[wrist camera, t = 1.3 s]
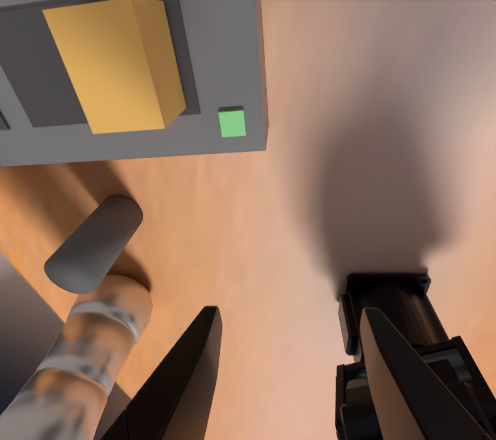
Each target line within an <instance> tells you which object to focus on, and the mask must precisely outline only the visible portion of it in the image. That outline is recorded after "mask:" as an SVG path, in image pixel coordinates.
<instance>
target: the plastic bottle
mask: <svg viewBox="0 0 496 440" xmlns="http://www.w3.org/2000/svg"><path fill="white" fill-rule="evenodd" d="M152 307H153V304H152V300H151V296H150V294H149V292H148V290H147V289H146V288H145V287H144V286H143V285H142V284H140V283H139V282H137V281H136V280H134V279H131V278H129V277H126V276H122V275H106V276H105V277H104V278H103V280H102V281H101V283H100V284H99V286H98V287H97V289H96V290H95V291H94V292H92V293H89V294H79V295H78V297H77V299H76V301H75V303H74V305H73V306H72V308H71V311H70V313H69V316H68V319H67V321H66V323H65V325H64V326H63V328H62V330H61V332H60V333H59V335H58V337H57V339H56V340H55V342H54V344H53V345H52V347H51V349H50V351H49V353H48V354H47V356H46V358H45V359H44V360H43V362H42V363H41V364H40V366H39V367H38V368H37V370H36V373H35V374H34V375H32V377H31V378H30V379H29V380H28V382H27V383H26V385H25V386H24V387H23V388H22V390H21V391H20V392H19V394H18V395H17V396H16V398H15V399H14V400H13V402H12V403H11V404H10V405H9V406H8V408H7V409H6V410H5V411H4V412H3V413H2V414H1V416H0V440H93V438H94V434H95V431H96V428H97V425H98V422H99V420H100V417H101V414H102V412H103V410H104V407H105V404H106V402H107V396H109V394H110V392H111V389H112V387H113V384H114V382H115V380H116V378H117V376H118V374H119V372H120V370H121V368H122V367H123V365H124V363H125V361H126V359H127V357H128V355H129V354H130V352H131V350H132V348H133V346H134V345H135V344H136V343H137V341H138V340H139V338H140V337H141V335H142V334H143V332H144V330H145V328H146V327H147V325H148V323H149V321H150V317H151V312H152Z"/></svg>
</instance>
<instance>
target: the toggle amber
mask: <svg viewBox="0 0 496 440" xmlns="http://www.w3.org/2000/svg"><path fill="white" fill-rule="evenodd" d="M42 11H43V14H44V16H45V18H46V21H47V23H48V26H49V28H50V31H51V33H52V35H53V38H54V40H55V43H56V45H57V48H58V50H59V52H60V55H61V57H62V60H63V62H64V65H65V67H66V69H67V72H68V74H69V77H70V79H71V82H72V84H73V86H74V89H75V91H76V94H77V96H78V99H79V101H80V103H81V106H82V108H83V111H84V113H85V116H86V118H87V120H88V123H89V125H90V128H91V130H92V133H93V134H101V133H114V132H127V131H140V130H153V129H165V128H166V127H167V126H168V125H169V124H170V123H171V122H172V121H173V120H174V119H176V118H177V117H178V116H179V115H180V114H181V113H182V112H183V111H184V110H185V109H186V104H185V99H184V95H183V90H182V85H181V81H180V76H179V71H178V67H177V62H176V58H175V53H174V48H173V44H172V39H171V34H170V30H169V25H168V21H167V16H166V11H165V7H164V2H163V1H160V0H108V1H101V2H94V3H87V4H81V5H74V6H67V7H60V8H53V9H46V10H42Z"/></svg>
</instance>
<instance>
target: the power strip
mask: <svg viewBox="0 0 496 440" xmlns="http://www.w3.org/2000/svg"><path fill="white" fill-rule="evenodd" d="M101 1H108V0H0V167H6V166H22V165H38V164H54V163H70V162H87V161H103V160H119V159H135V158H151V157H167V156H183V155H200V154H216V153H232V152H248V151H264V150H266V144H267V136H268V128H269V121H268V105H267V89H266V73H265V57H264V41H263V25H262V9H261V0H160V1H163V2H164V7H165V11H166V16H167V21H168V25H169V30H170V34H171V39H172V44H173V48H174V53H175V58H176V62H177V67H178V71H179V76H180V81H181V85H182V90H183V95H184V99H185V104H186V109H185V110H184V111H183V112H182V113H181V114H180V115H179V116H178V117H177V118H176V119H174V120H173V121H172V122H171V123H170V124H169V125H168V126H167V127H166V128H165V129H153V130H140V131H127V132H114V133H101V134H93V133H92V130H91V128H90V125H89V123H88V120H87V118H86V116H85V113H84V111H83V108H82V106H81V103H80V101H79V99H78V96H77V94H76V91H75V89H74V86H73V84H72V82H71V79H70V77H69V74H68V72H67V69H66V67H65V65H64V62H63V60H62V57H61V55H60V52H59V50H58V48H57V45H56V43H55V40H54V38H53V35H52V33H51V31H50V28H49V26H48V23H47V21H46V18H45V16H44V14H43V11H42V10H46V9H53V8H60V7H67V6H74V5H81V4H87V3H94V2H101Z"/></svg>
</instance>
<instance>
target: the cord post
mask: <svg viewBox="0 0 496 440" xmlns="http://www.w3.org/2000/svg"><path fill="white" fill-rule="evenodd" d="M142 220H143V213H142V210H141V208H140V207H139V205H138V204H137V203H136V202H135V201H133V200H132V199H130V198H128V197H126V196H123V195H112V196H109V197H108V198H106V199H105V200H104V201H103V202H102V204H101V205H100V206H99V207H98V208H97V209H96V210H95V211H94V212H93V213H92V214H91V215H90V216H89V217H88V218H87V219H86V220H85V221H84V222H83V223H82V224H81V225H80V226H79V228H78V229H77V230H76V231H75V232H74V233H73V234H72V235H71V236H70V237H69V238H68V239H67V240H66V241H65V242H64V243H63V244H62V245H61V246H60V247H59V248H58V249H57V250H56V252H55V253H54V254H53V255H52V256H51V257H50V258H49V259H48V260H47V261H46V262H45V265H44V270H45V273H46V275H47V276H48V278H49V279H50V280H51V281H52V282H53V283H54V284H56V285H57V286H59V287H60V288H62V289H64V290H66V291H69V292H72V293H76V294H89V293H92V292H94V291H95V290H96V289H97V287H98V286H99V284H100V283H101V281H102V280H103V278H104V277H105V275H106V274H107V272H108V271H109V269H110V268H111V267H112V265H113V264H114V262H115V261H116V259H117V258H118V256H119V255H120V253H121V252H122V250H123V249H124V247H125V246H126V244H127V243H128V242H129V240H130V239H131V237H132V236H133V234H134V233H135V231H136V230H137V228H138V227H139V225H140V224H141V222H142Z"/></svg>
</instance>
